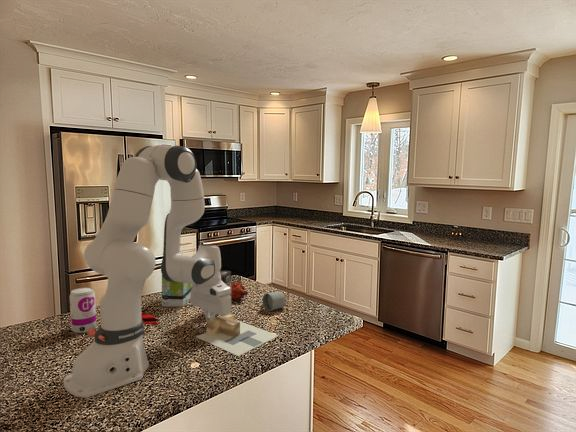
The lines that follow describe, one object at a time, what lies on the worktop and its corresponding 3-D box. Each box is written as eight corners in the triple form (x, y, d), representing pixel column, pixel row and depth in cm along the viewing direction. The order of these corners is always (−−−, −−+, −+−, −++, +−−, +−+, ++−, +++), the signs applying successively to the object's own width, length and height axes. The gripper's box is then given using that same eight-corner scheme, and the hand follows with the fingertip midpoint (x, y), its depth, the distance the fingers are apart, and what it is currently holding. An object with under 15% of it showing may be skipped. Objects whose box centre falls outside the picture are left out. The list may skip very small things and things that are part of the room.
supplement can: (99, 329, 140) (98, 290, 139) (75, 335, 134) (73, 295, 133) (91, 323, 146) (89, 285, 144) (68, 329, 140) (66, 290, 138)
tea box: (184, 307, 164) (183, 274, 163) (161, 307, 165) (160, 274, 163) (193, 296, 179) (192, 266, 178) (172, 296, 179) (171, 265, 178)
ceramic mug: (287, 309, 163) (287, 291, 163) (272, 313, 158) (272, 295, 157) (271, 303, 171) (271, 286, 170) (257, 307, 166) (257, 290, 165)
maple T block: (224, 340, 130) (224, 328, 130) (206, 333, 137) (206, 321, 136) (247, 330, 139) (247, 319, 138) (229, 323, 145) (229, 312, 145)
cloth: (110, 313, 158) (110, 308, 158) (143, 306, 167) (143, 301, 167) (130, 334, 138) (129, 328, 138) (166, 324, 147) (166, 319, 147)
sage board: (238, 357, 120) (238, 355, 120) (195, 338, 133) (195, 336, 133) (279, 336, 135) (279, 335, 135) (236, 321, 149) (236, 320, 149)
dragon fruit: (231, 297, 182) (243, 308, 173) (219, 290, 177) (230, 301, 168) (241, 283, 184) (254, 292, 174) (229, 275, 178) (241, 285, 169)
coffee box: (224, 313, 157) (224, 276, 155) (210, 312, 158) (209, 275, 157) (232, 306, 166) (231, 270, 164) (218, 305, 167) (217, 269, 165)
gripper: (185, 282, 146) (186, 316, 148) (220, 293, 133) (221, 330, 135) (199, 279, 151) (199, 312, 152) (233, 289, 138) (234, 325, 140)
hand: (210, 321), depth 144 cm, fingers closed
